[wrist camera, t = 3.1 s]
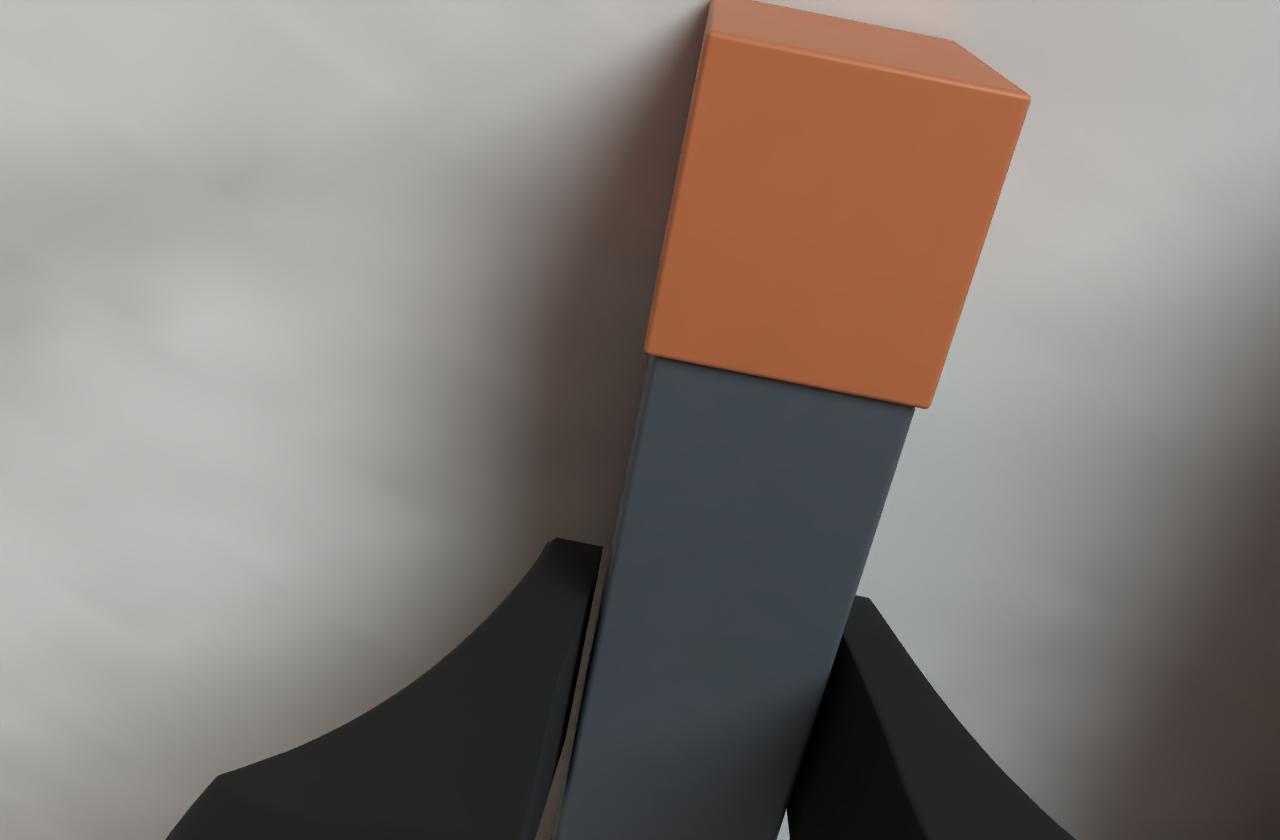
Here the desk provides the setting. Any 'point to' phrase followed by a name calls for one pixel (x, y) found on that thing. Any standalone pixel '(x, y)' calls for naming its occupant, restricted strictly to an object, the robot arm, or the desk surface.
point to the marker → (776, 403)
